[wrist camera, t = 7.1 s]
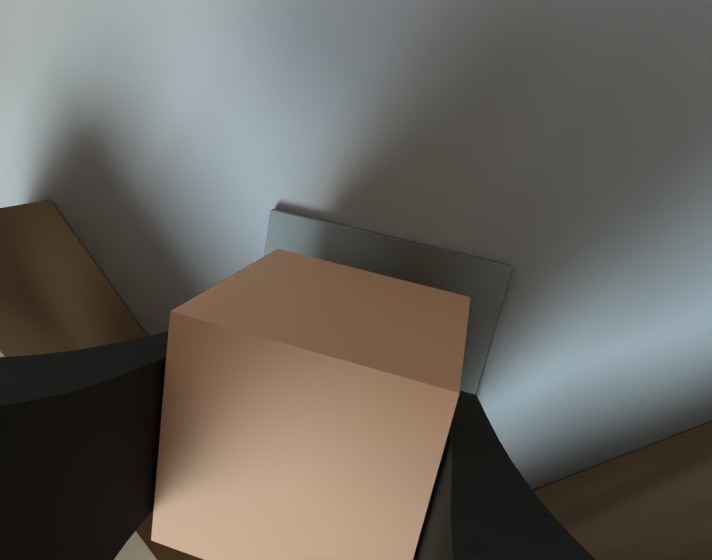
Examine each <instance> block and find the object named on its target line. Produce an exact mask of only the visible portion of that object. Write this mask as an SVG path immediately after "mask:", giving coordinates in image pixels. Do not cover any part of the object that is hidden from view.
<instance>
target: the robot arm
mask: <svg viewBox="0 0 712 560" xmlns="http://www.w3.org/2000/svg"><path fill="white" fill-rule="evenodd" d="M167 342H168V332H165V333H160V334H156V335H151V336H147V337H143V338H138V339H133V340H128V341H123V342H118V343H113V344H108V345H103V346H97V347H92V348H86V349H80V350H73V351H66V352H57V353H48V354H39V355H28V356H11V357H0V560H114V559H115V558H116V556H117V555H118V553H119V552H120V551H121V549H122V548H123V546H124V545H125V544H126V542H127V541H128V540H129V539H130V537H131V536H132V535H133V534H134V532H135V531H136V530H137V529H138V527H139V526H140V525H141V524H142V523H143V521H144V520H145V519H146V518H147V517H148V516H149V515H150V514H151V512H152V511H153V510H154V499H155V487H156V475H157V463H158V450H159V438H160V426H161V414H162V402H163V390H164V378H165V366H166V354H167ZM413 560H596V559H595V558H594V557H593V556H592V555H591V554H590V553H589V552H588V551H587V550H586V549H585V548H584V547H582V546H581V545H580V544H579V543H578V542H577V541H576V540H575V539H574V538H573V537H572V536H571V535H570V533H569V532H568V531H567V530H566V529H565V528H564V527H563V526H562V525H561V524H560V523H559V522H558V521H557V519H556V518H555V517H554V516H553V515H552V514H551V512H550V511H549V510H548V509H547V508H546V506H545V505H544V504H543V503H542V502H541V501H540V499H539V498H538V497H537V496H536V494H535V493H534V492H533V491H532V489H531V488H530V487H529V485H528V484H527V483H526V481H525V480H524V478H523V477H522V475H521V474H520V472H519V471H518V470H517V468H516V467H515V465H514V464H513V462H512V461H511V459H510V458H509V456H508V454H507V453H506V451H505V449H504V447H503V446H502V444H501V442H500V441H499V439H498V437H497V435H496V433H495V432H494V430H493V428H492V426H491V424H490V422H489V420H488V418H487V416H486V414H485V412H484V410H483V408H482V406H481V403H480V401H479V400H478V398H477V396H476V395H475V394H472V393H468V392H464V391H461V390H460V393H459V397H458V400H457V404H456V407H455V411H454V415H453V418H452V422H451V425H450V429H449V432H448V436H447V440H446V443H445V447H444V450H443V454H442V457H441V461H440V464H439V468H438V472H437V475H436V479H435V482H434V486H433V489H432V493H431V497H430V500H429V504H428V507H427V511H426V514H425V518H424V522H423V525H422V529H421V532H420V536H419V539H418V543H417V546H416V550H415V554H414V557H413Z"/></svg>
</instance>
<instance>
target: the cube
mask: <svg viewBox="0 0 712 560" xmlns="http://www.w3.org/2000/svg"><path fill="white" fill-rule="evenodd" d="M470 298H471V297H468V296H464V295H460V294H456V293H452V292H448V291H444V290H440V289H436V288H432V287H428V286H424V285H420V284H416V283H412V282H408V281H404V280H400V279H396V278H392V277H389V276H385V275H381V274H377V273H373V272H369V271H365V270H361V269H357V268H353V267H349V266H345V265H341V264H337V263H333V262H329V261H325V260H321V259H317V258H313V257H309V256H305V255H301V254H297V253H293V252H289V251H285V250H281V249H276V250H275V251H273V252H271V253H269V254H268V255H266V256H264V257H263V258H261V259H259V260H257V261H256V262H254V263H252V264H251V265H249V266H247V267H245V268H244V269H242V270H240V271H238V272H237V273H235V274H233V275H232V276H230V277H228V278H226V279H225V280H223V281H221V282H220V283H218V284H216V285H214V286H213V287H211V288H209V289H207V290H206V291H204V292H202V293H201V294H199V295H197V296H195V297H194V298H192V299H190V300H189V301H187V302H185V303H183V304H182V305H180V306H178V307H176V308H175V309H173V310H171V311H170V318H169V330H168V342H167V354H166V366H165V378H164V390H163V402H162V414H161V426H160V438H159V450H158V463H157V475H156V487H155V499H154V511H153V523H152V535H151V541H154V542H157V543H159V544H162V545H165V546H168V547H170V548H173V549H176V550H179V551H181V552H184V553H187V554H190V555H192V556H195V557H198V558H201V559H203V560H413V557H414V554H415V550H416V546H417V543H418V539H419V536H420V532H421V529H422V525H423V522H424V518H425V514H426V511H427V507H428V504H429V500H430V497H431V493H432V489H433V486H434V482H435V479H436V475H437V472H438V468H439V464H440V461H441V457H442V454H443V450H444V447H445V443H446V440H447V436H448V432H449V429H450V425H451V422H452V418H453V415H454V411H455V407H456V404H457V400H458V397H459V393H460V385H461V376H462V367H463V359H464V350H465V341H466V332H467V324H468V315H469V306H470Z"/></svg>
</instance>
